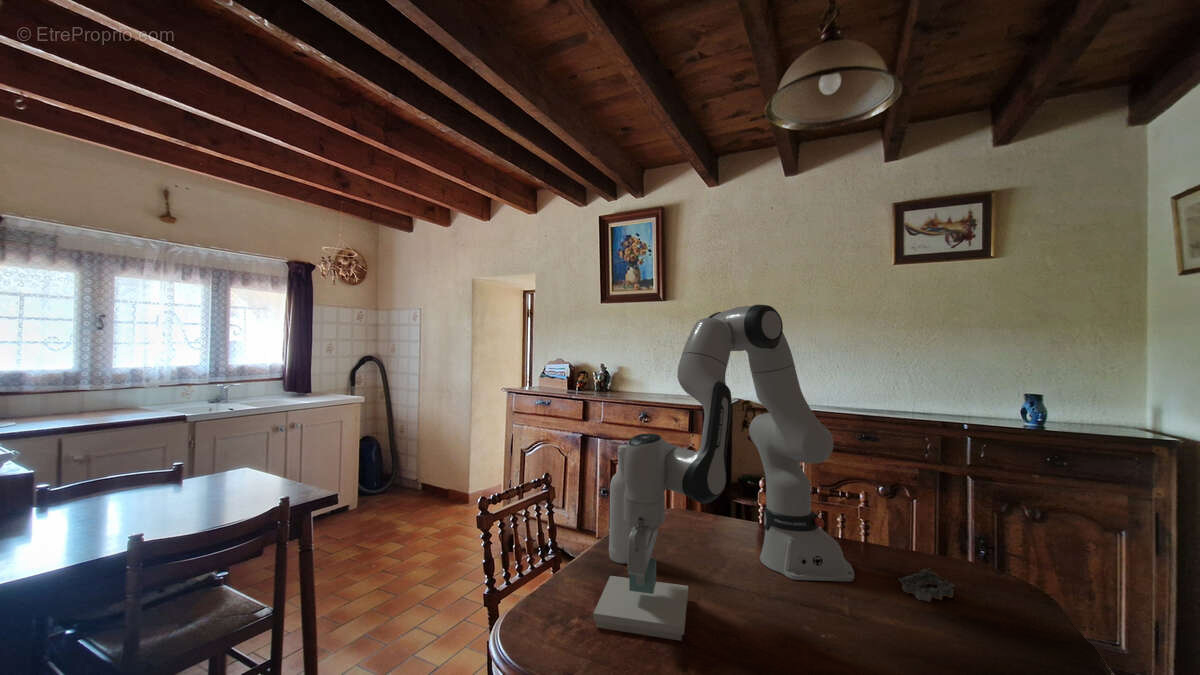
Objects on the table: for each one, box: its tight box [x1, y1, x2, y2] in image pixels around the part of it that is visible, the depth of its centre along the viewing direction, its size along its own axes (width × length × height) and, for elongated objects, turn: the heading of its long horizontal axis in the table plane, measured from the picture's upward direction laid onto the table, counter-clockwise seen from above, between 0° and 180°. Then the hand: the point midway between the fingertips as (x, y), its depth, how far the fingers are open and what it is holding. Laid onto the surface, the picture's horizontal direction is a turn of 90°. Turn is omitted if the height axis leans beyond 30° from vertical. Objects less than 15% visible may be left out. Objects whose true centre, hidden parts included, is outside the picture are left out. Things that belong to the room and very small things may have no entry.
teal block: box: [628, 557, 657, 594], centre depth 99 cm, size 5×5×5 cm
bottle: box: [608, 444, 632, 565], centre depth 125 cm, size 8×8×30 cm
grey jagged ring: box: [898, 568, 957, 601], centre depth 108 cm, size 11×8×4 cm
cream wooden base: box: [592, 575, 689, 641], centre depth 98 cm, size 18×16×3 cm
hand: (643, 576), depth 99 cm, fingers closed on teal block, 5 cm apart
